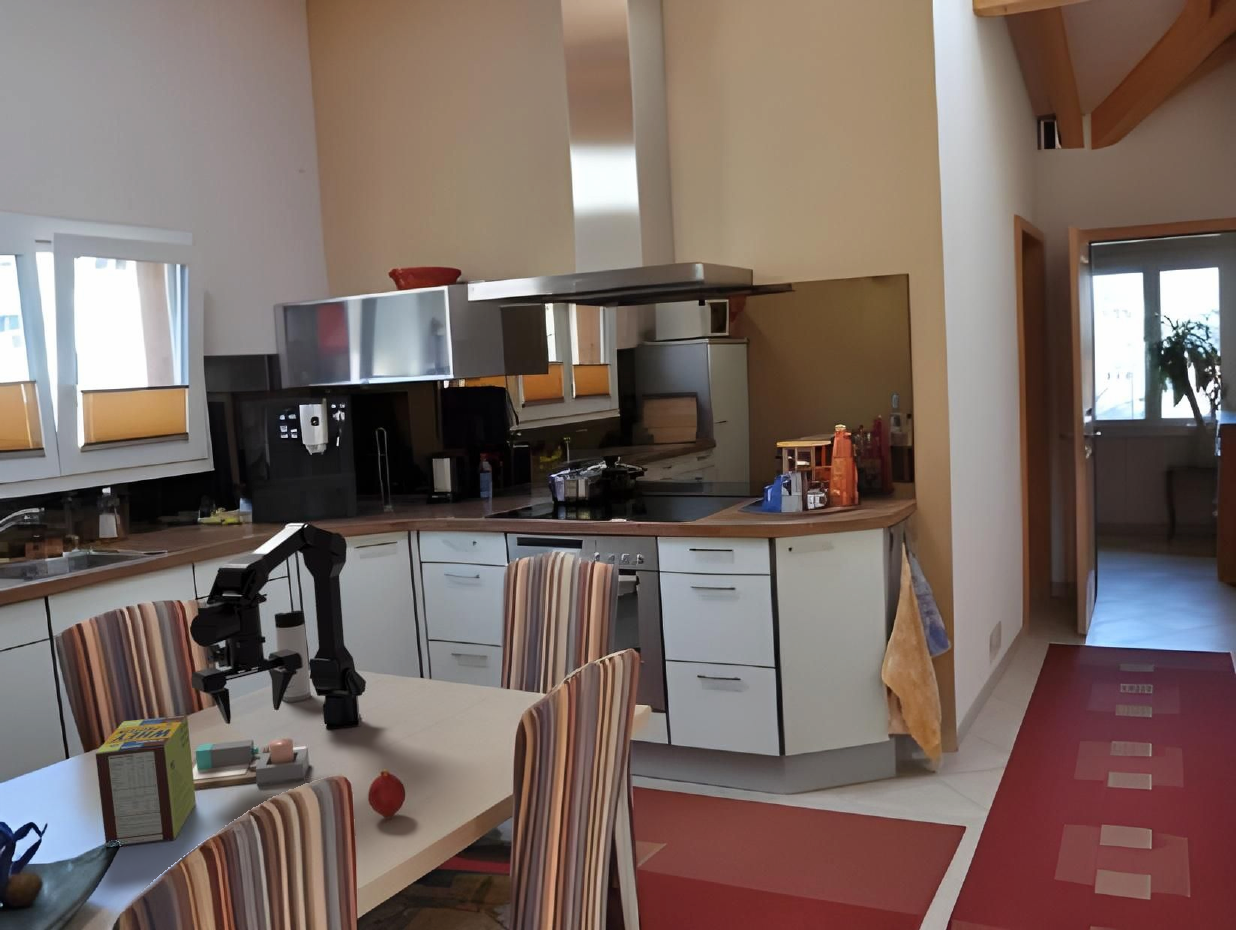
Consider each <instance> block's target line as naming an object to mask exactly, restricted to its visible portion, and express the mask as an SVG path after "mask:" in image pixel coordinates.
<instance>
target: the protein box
mask: <svg viewBox="0 0 1236 930" xmlns="http://www.w3.org/2000/svg"><path fill="white" fill-rule="evenodd" d="M191 751H192V750H191V740H190V731H189V719H188V715H187V714H181V715H174V716H165V717H155V718H146V719H137V720H125V721H122V722H121V724H120V725H118V728H116V729H115V731H114V732H113V733H112V734H111V735H110V736H109V737H108V738H107V740H105V742H104V743H102V745H101V746H100V747H99V748H98V749H97V751H96V752H95V761H96V768H97V778H98V787H99V797H100V806H101V814H102V823H103V832H104V839H105V844H106V843H108V842H109V841H111V840H117V841H119V842H120V845H121V846H120V847H121V848H122V847H127V846H134V845H135V846H137V845H143V844H144V845H145V844H152V843H160V842H169V841H174V840H175V839H176V838H177V835H178V834H179V833H180V831H181V829H182V827H183V826H184V824H185V821H186V820H187V819H188V817H189V815H190V814H191V812H192V810H193V808H194V807H195V804H196V793H195V790H196V789H194V779H193V769H192V762H193V761H192V760H193V759H192V752H191Z"/></svg>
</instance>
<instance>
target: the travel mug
mask: <svg viewBox="0 0 1236 930" xmlns="http://www.w3.org/2000/svg"><path fill="white" fill-rule="evenodd" d="M304 615H305V613H304V610H301V609H300V610H292V611H289V612H279V613H275V614H274V624H275V626H274V627H275V638H276V639H275V640H276V649H277V651H276V652H278V651H282V650H286V649H288V650H291V651H294V652H297V653H299V654H300V655H301V657H302V659H303V667H302V668H300V669H296V671H297V674H294V675H293V676H292V678H291V680H290V682H289V684H288V686H287V688H286V691H285V693H284V696H283V699H282V702H286V703H295V702H300V701H305V700H307V699H309V698H310V697H311V695H312V694H311V693H312V692H311V684H310V683H311V681H310V680H311V679H310V672H309V671H310V667H309V658H308V649H307V648H308V647H307V635H306V626H305V625H306V623H305V617H304Z"/></svg>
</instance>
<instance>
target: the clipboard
mask: <svg viewBox="0 0 1236 930" xmlns="http://www.w3.org/2000/svg"><path fill="white" fill-rule="evenodd" d="M254 748H259V754H256V755H255V756H254V759H253V761H252V763H251V764H245V765H236V766H228V767H219V768H211V769H202V770H197V761H196V757H195V758H194V759H193V761H192V769H193V779H194V790H199V789H206V788H207V789H208V788H216V787H217V788H218V787H223V786H232V785H241V784H250V783H257V780H256V767H257V765H258V763H259V760H260V758H261V756H262V754H263V753H270V748H269V745H266V746H265V745H264V746H263V745H262V746H254Z"/></svg>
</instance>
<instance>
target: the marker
mask: <svg viewBox="0 0 1236 930" xmlns="http://www.w3.org/2000/svg"><path fill="white" fill-rule="evenodd" d="M254 747H255V745H254V739H247V740H244V739H243V740H237V741H229V742H218V743H213V742H212V743H204V744H199V745H198V747H197V748H196V750H195V758H196V761H197V770H202V769H211V768H219V767H228V766H236V765H245V764H251V763H252V761H253V759H254V756H255V755H256V754H259V748H254Z"/></svg>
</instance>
